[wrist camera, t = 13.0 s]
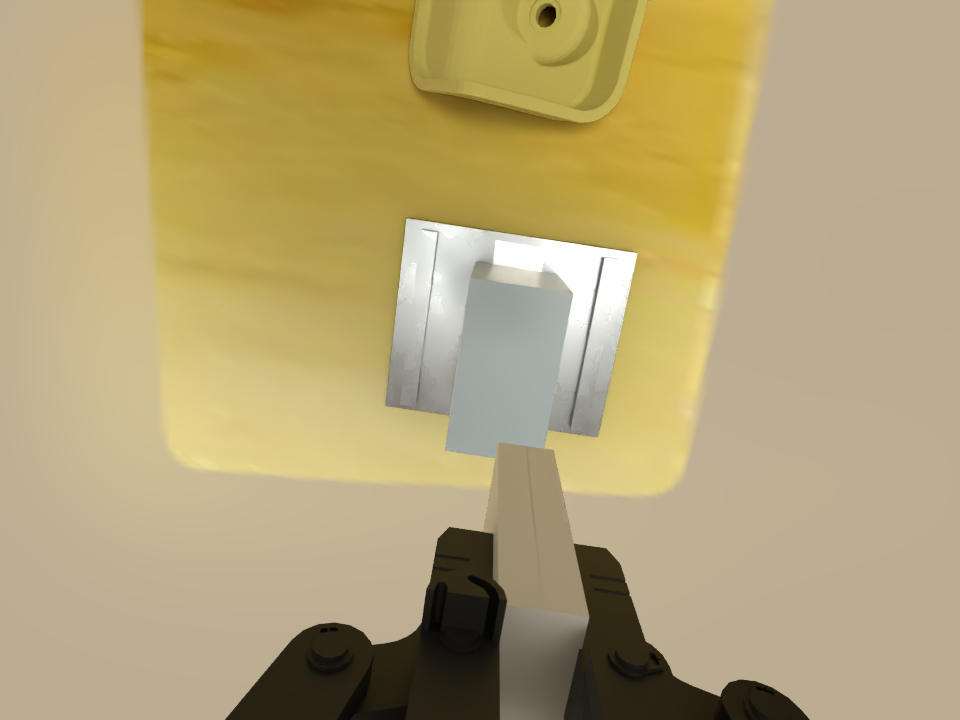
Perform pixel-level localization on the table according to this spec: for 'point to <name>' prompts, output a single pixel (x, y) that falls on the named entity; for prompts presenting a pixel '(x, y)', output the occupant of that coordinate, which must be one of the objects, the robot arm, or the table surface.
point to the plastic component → (527, 53)
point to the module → (507, 359)
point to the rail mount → (441, 305)
